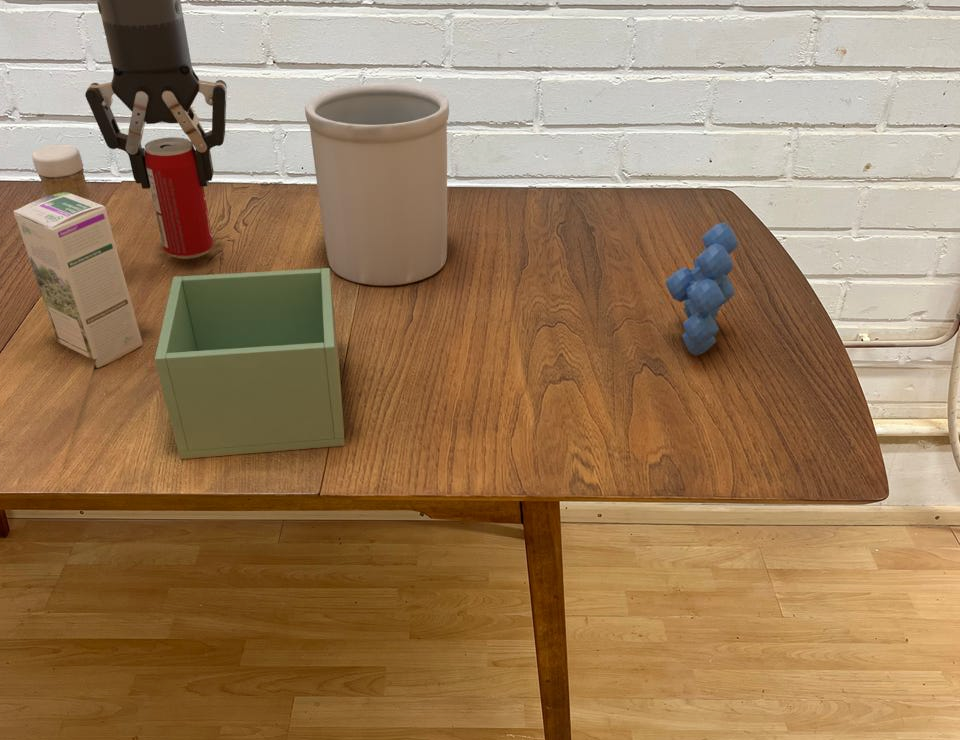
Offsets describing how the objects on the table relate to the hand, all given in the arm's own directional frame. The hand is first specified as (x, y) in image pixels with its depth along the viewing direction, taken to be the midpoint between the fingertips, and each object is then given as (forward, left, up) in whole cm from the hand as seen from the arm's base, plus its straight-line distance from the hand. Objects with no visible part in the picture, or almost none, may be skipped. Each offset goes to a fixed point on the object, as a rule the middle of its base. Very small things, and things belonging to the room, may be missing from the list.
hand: (175, 184), depth 96 cm
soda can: (0, 0, -8) cm, 8 cm away
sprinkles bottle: (-11, -2, -9) cm, 14 cm away
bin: (+9, -31, -9) cm, 33 cm away
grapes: (+51, -25, -9) cm, 57 cm away
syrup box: (-7, -19, -9) cm, 22 cm away
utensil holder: (+22, -3, -9) cm, 24 cm away
